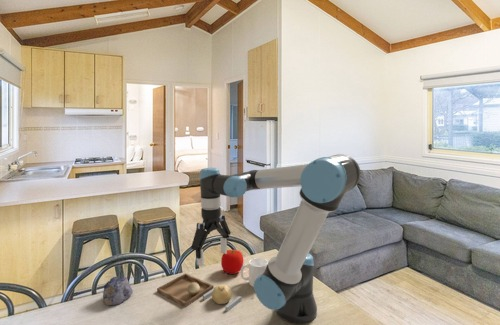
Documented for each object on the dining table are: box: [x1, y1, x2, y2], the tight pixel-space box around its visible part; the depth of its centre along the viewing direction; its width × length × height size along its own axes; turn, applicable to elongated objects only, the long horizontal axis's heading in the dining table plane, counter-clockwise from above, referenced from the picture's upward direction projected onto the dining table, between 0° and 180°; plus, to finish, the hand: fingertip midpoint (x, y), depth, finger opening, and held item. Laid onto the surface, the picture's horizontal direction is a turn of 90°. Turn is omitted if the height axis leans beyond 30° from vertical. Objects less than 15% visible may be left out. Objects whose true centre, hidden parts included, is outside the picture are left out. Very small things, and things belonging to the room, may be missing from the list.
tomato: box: [221, 249, 244, 275], centre depth 142 cm, size 10×11×11 cm
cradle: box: [202, 285, 242, 312], centre depth 119 cm, size 13×8×2 cm, turn 54°
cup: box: [240, 257, 269, 288], centre depth 131 cm, size 8×12×10 cm
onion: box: [211, 284, 233, 305], centre depth 119 cm, size 8×8×7 cm
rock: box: [102, 276, 134, 306], centre depth 120 cm, size 11×10×10 cm
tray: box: [156, 272, 215, 308], centre depth 126 cm, size 18×16×2 cm
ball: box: [187, 282, 200, 295], centre depth 123 cm, size 5×5×5 cm
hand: (212, 258), depth 119 cm, fingers open, 13 cm apart
